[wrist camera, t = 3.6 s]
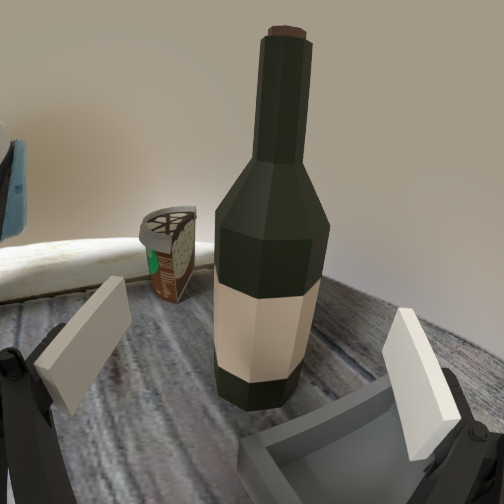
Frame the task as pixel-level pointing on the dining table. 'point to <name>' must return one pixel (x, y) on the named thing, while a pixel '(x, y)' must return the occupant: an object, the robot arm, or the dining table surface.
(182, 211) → the food container
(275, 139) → the wine bottle
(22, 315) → the dining table surface
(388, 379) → the tote
